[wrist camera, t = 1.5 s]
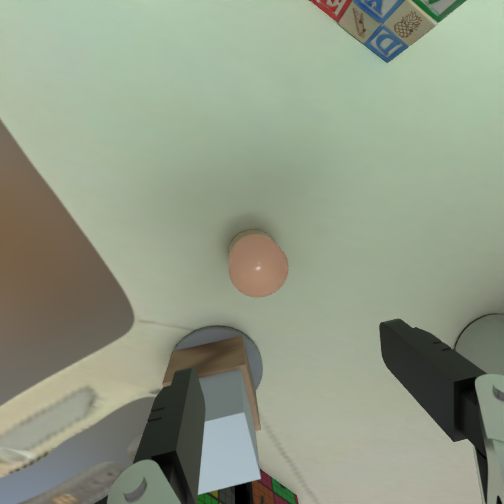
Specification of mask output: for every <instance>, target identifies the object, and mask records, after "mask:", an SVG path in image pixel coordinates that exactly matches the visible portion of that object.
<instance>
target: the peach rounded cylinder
mask: <svg viewBox="0 0 504 504" xmlns="http://www.w3.org/2000/svg"><path fill="white" fill-rule="evenodd" d="M229 274H230V278H231V281H232V283H233V284H234V286H235V287H236V288H237V289H238V290H239V291H240V292H242V293H244V294H245V295H248V296H252V297H264V296H267V295H270V294H272V293H274V292H275V291H277V290H278V289H279V288H280V287H281V286H282V285H283V283H284V282H285V280H286V278H287V274H288V261H287V258H286V255H285V254H284V252H283V251H282V250H281V248H280V247H279V246H278V245H277V244H276V243H275V242H274V241H273V240H272V238H271V237H270V236H269V235H268V234H266V233H265V232H263V231H260V230H255V229H250V230H246V231H243V232H241V233H239V234H238V235H237V236H236V237H235V238H234V239H233V240H232V242H231V244H230V247H229Z"/></svg>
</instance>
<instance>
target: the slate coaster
mask: <svg viewBox="0 0 504 504" xmlns="http://www.w3.org/2000/svg"><path fill="white" fill-rule="evenodd" d="M238 336H243V339H244V344H245V348H246V353H247V357H248V361H249V366H250V370H251V374H252V379H253V383H254V388H255V391H256V389H257V388H258V386H259V384H260V381H261V378H262V361H261V356H260V353H259V350H258V348H257V346H256V345H255V343H254V342H253V341H252V340H251V339H250V338H249V337H248V336H247V335H245V334H244V333H242V332H240V331H238V330H236V329H233V328H230V327H225V326H210V327H205V328H201V329H198V330H196V331H194V332H192V333H190V334H188V335H187V336H186V337H184V338H183V339H182V340H181V341H180V342H179V343H178V345H177V346H176V347H175V349H174V351H176V350H181V349H185V348H190V347H194V346H199V345H203V344H207V343H212V342H216V341H221V340H225V339H230V338H234V337H238ZM170 359H171V358H170ZM169 362H170V361H169Z"/></svg>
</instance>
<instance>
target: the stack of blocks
mask: <svg viewBox="0 0 504 504" xmlns="http://www.w3.org/2000/svg"><path fill="white" fill-rule="evenodd" d="M309 1H312V2H313V3H314V4H316V5H317V6H318V7H319V8H320V9H322V10H323V11H324V12H325V13H327V14H328V15H329V16H330V17H332V18H333V19H334V20H336V21H338V23H339V25H340V26H341V27H343V28H344V29H345V30H346V31H348V32H349V33H350V34H351V35H353V36H354V37H355V38H356V39H358V40H359V41H360V42H362V43H364V44H365V45H366V46H367V47H368V48H369V49H371V50H372V51H373V52H374V53H376V54H377V55H378V56H379V57H381V58H382V59H383V60H385V61H386V62H390V61H391V60H392V59H394V58H395V57H396V56H397V55H399V54H400V53H401V52H403V51H404V50H405V49H407V48H408V47H409V46H411V45H412V44H413V43H415V42H416V41H417V40H419V39H420V38H421V37H423V36H424V35H425V34H426V33H428V32H429V31H430V30H431V29H433V28H434V27H435V26H436V25H437V24H438V22H440V21H442V20H443V19H444V18H445V17H447V16H448V15H449V14H450V13H452V12H453V11H454V10H455V9H456V8H458V7H459V6H460V5H461V4H463V3H464V2H465V1H466V0H309Z"/></svg>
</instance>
